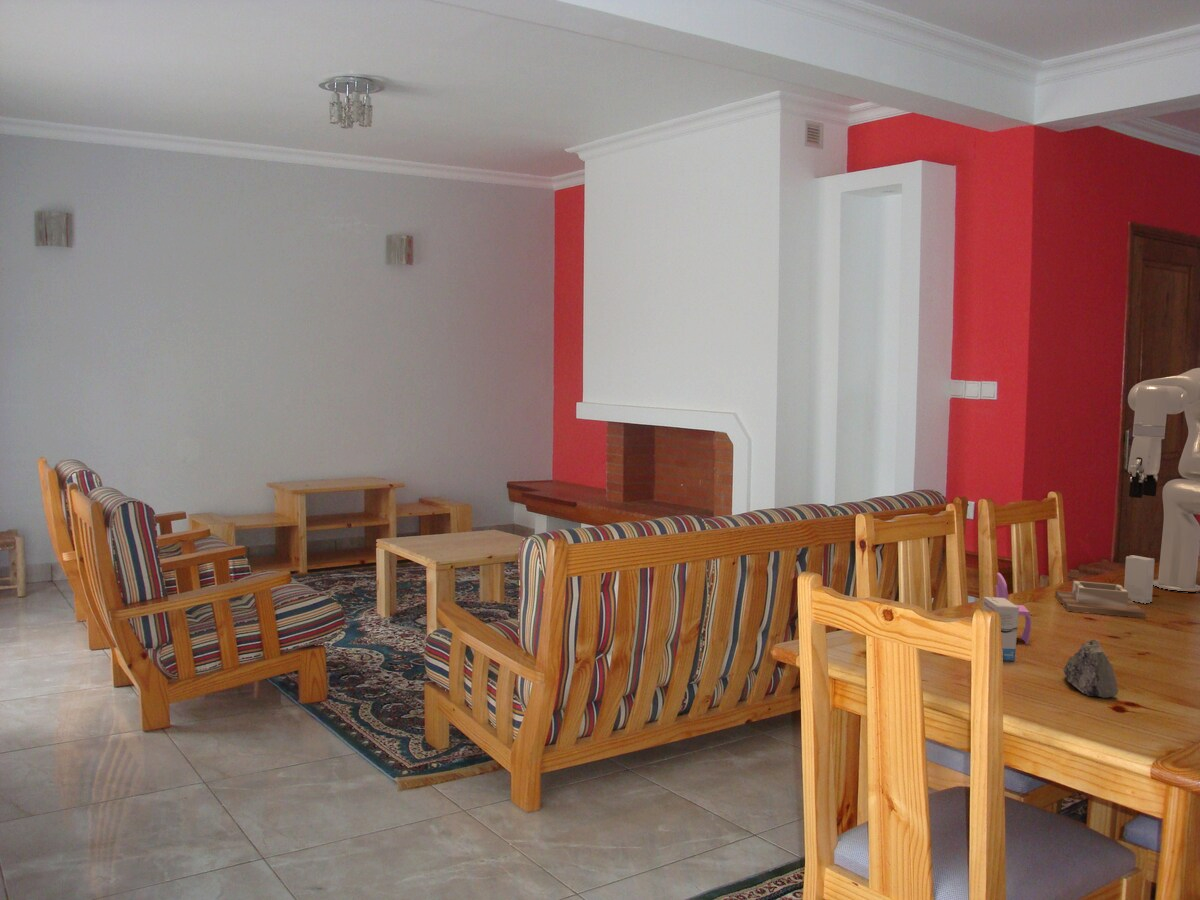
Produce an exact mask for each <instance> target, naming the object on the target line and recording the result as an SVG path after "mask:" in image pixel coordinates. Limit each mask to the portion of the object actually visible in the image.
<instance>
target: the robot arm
mask: <svg viewBox="0 0 1200 900" xmlns="http://www.w3.org/2000/svg"><path fill="white" fill-rule="evenodd" d="M1127 403H1128V406H1129V407H1130V409H1131V410H1132V411H1134V417H1133V427H1132V437H1133V439H1132V443H1131V447H1130V454H1129V460H1128V467H1127V472H1128V473H1129V474H1130V479H1129V491H1128V497H1130V498H1137V499H1142V498H1143V497H1144V496H1147V497H1148V496H1149V497H1156V496H1157V490H1158V489H1157V488H1158V481H1159V477H1158V476H1159V471H1160V467H1161V457H1162V440H1165V435H1166V425H1167V417H1168V416H1167V415H1178V414H1180V413H1182V412H1184V418H1185V420H1186V425H1187V429H1188V430H1187V431H1188V433H1187V434H1188V435H1187V438H1186V442H1185V444H1184V448H1183V450H1182V453H1181V456H1180V459H1179V462H1178V468H1177V469H1178V473H1179V475H1180V476H1181V477H1182V478H1175V479H1171V480H1169V481H1167V482H1166V483H1165V484H1164V486H1163V487H1162V493H1161V494H1162V504H1163V523H1162V524H1163V525H1162V534H1161V535H1162V536H1161V537H1162V538H1161V544H1160V545H1161V547H1160V555H1159V556H1160V559H1159V567H1158V579H1153V585H1154V586H1153V587H1155V586H1157V587H1159V588H1158V589H1161V588H1163V589H1162V590H1165V589H1168V590H1167V591H1170V590H1177V591H1198V590H1200V585H1198V584H1197V574H1198V564H1199V555H1200V523H1199V522H1198V520H1197V519H1196V517H1195V516H1194V515H1199V516H1200V367H1196V368H1191V369H1189V370H1188V371H1185V372H1182V373H1181V374H1178V375H1171V376H1166V377H1159V378H1151V379H1146V380H1143V381H1140V382H1138V383H1136V384H1134V385H1133V386H1132V388H1131V389H1130V390H1129V393H1128V395H1127ZM1157 587H1156V588H1157ZM1177 591H1176V592H1177Z"/></svg>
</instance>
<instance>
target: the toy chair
mask: <svg viewBox="0 0 1200 900" xmlns="http://www.w3.org/2000/svg"><path fill="white" fill-rule="evenodd" d="M996 577H997V582H998V583H997V584H995V590H996V592H995V593H996V598H1005V599H1007V600H1008V598H1009V597H1010V596H1009V593H1008V585H1007V582H1006V580H1005V578H1004V576H1003V574H1001V573H1000V572H997V573H996ZM1015 605H1016V606H1017V607H1019V614H1018V616H1024V617H1025V625H1024V629H1023V631H1022V634H1021V635H1020V638H1021V640H1024V641H1025V642H1024V641H1023V642H1024V643H1025V645H1029V641H1030V637H1031V631H1032V618H1031V616H1030V610H1028V609H1027V608H1026V606H1025V604H1023V605H1022V604H1015Z"/></svg>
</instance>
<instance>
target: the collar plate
mask: <svg viewBox="0 0 1200 900" xmlns="http://www.w3.org/2000/svg"><path fill="white" fill-rule="evenodd" d="M1055 595H1056V596H1055ZM1055 595H1054V596H1055V597H1057V598H1058V599H1059V600H1060V601H1061V603H1062V604H1063V605H1064V606H1065V607H1064V606H1063V605H1062V604H1061V603H1060V604H1061V605H1062V606H1063V607H1064V609H1065V608H1066V609H1067V610H1069V611H1079V612H1089V613H1098V614H1097V615H1100V614H1106V615H1105V616H1110V615H1117V616H1116V617H1121V616H1128V617H1127V618H1131V617H1136V618H1135V619H1142V618H1145V619H1146V614H1147V613H1146V612H1145V611H1144V610H1143V609H1142V608H1141V607H1140V606H1139V605H1138V604H1136V602H1133V601H1132V600H1131V599H1129V598H1128V591H1126V590H1125V589H1124V586H1122V585H1121V584H1117V583H1116V584H1115V583H1106V582H1105V583H1104V582H1092V581H1081V580H1072V589H1071V591H1063V590H1062V591H1061V590H1055ZM1057 598H1056V599H1057ZM1058 599H1057V600H1058ZM1059 600H1058V601H1059ZM1060 601H1059V602H1060ZM1066 609H1065V610H1066ZM1067 610H1066V611H1067ZM1089 613H1088V614H1089Z"/></svg>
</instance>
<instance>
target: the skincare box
mask: <svg viewBox="0 0 1200 900" xmlns="http://www.w3.org/2000/svg"><path fill="white" fill-rule="evenodd" d="M1124 566H1125V567H1124V568H1125V569H1124V582H1123V583H1124V585H1123V588H1124V589H1125V590H1126V591H1128V598H1129V599H1131V600H1132V601H1135V602H1134V603H1138V602H1140V603H1139V604H1143V603H1144V604H1143V605H1147V604H1146V603H1149V604H1151V603H1150V602H1153V590H1154V589H1153V588H1154V586H1153V580H1154V577H1155V574H1154V573H1155V558H1152V557H1145V556H1140V555H1133V554H1132V555H1131V554H1130V555H1127V556H1126V557H1125V565H1124Z"/></svg>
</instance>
